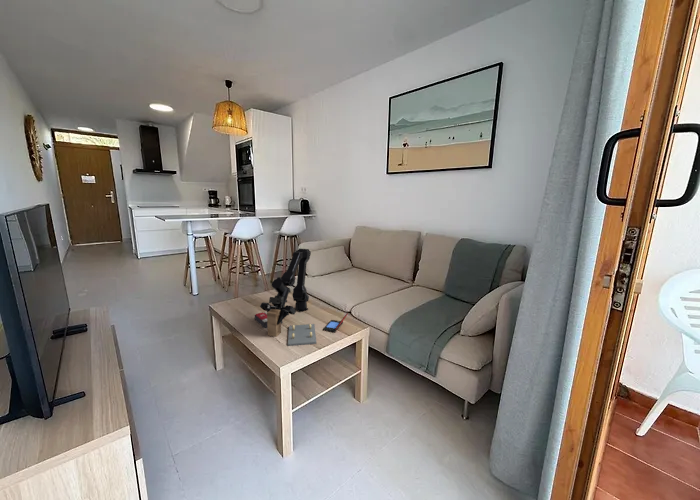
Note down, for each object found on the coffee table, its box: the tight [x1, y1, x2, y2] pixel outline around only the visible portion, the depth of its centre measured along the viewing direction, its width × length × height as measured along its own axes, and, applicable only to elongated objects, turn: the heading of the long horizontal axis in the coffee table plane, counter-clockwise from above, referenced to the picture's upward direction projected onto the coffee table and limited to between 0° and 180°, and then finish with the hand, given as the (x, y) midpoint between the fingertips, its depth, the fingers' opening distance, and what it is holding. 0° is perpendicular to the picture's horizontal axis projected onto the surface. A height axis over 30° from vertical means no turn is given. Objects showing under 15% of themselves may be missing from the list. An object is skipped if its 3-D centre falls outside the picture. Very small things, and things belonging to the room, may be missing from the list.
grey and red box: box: [254, 311, 283, 329], centre depth 169 cm, size 11×4×15 cm
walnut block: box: [267, 309, 282, 338], centre depth 153 cm, size 5×5×13 cm
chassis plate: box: [287, 323, 317, 347], centre depth 153 cm, size 20×14×4 cm
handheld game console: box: [322, 312, 349, 333], centre depth 162 cm, size 12×11×7 cm
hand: (272, 323), depth 152 cm, fingers closed on walnut block, 5 cm apart
